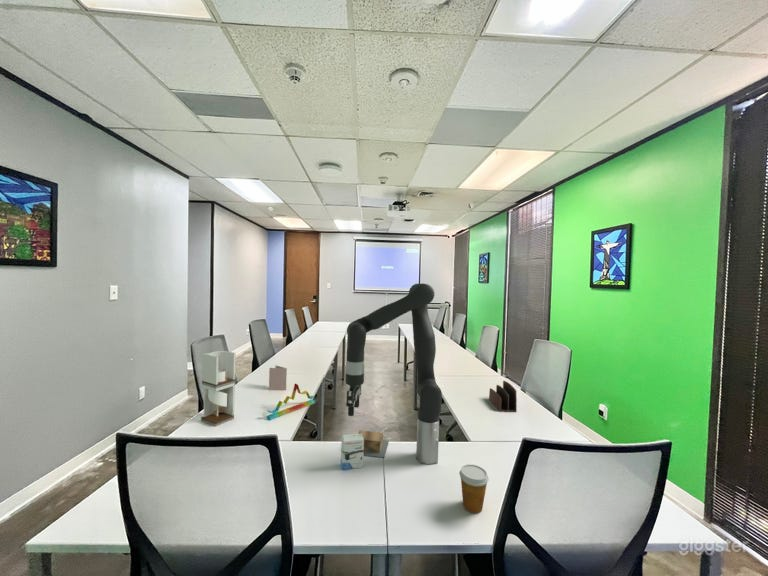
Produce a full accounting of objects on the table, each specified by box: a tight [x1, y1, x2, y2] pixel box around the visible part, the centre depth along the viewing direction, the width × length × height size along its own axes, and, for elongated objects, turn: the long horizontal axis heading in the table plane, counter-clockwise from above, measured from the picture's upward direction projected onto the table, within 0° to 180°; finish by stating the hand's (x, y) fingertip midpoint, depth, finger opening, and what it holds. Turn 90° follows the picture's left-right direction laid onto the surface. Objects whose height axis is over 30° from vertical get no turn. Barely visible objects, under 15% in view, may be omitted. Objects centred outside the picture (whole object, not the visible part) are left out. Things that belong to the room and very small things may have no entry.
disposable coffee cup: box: [458, 463, 490, 514], centre depth 105 cm, size 10×10×12 cm
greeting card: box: [268, 364, 288, 391], centre depth 210 cm, size 11×7×15 cm, turn 58°
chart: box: [266, 383, 316, 421], centre depth 177 cm, size 30×3×15 cm, turn 143°
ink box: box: [340, 433, 364, 471], centre depth 126 cm, size 8×5×12 cm, turn 105°
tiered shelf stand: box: [200, 350, 237, 427], centre depth 162 cm, size 11×11×35 cm
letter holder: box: [488, 380, 518, 413], centre depth 195 cm, size 10×20×14 cm, turn 0°
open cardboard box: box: [357, 430, 384, 453], centre depth 141 cm, size 11×8×5 cm
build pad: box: [363, 439, 390, 459], centre depth 141 cm, size 16×14×1 cm
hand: (353, 411), depth 126 cm, fingers open, 8 cm apart
